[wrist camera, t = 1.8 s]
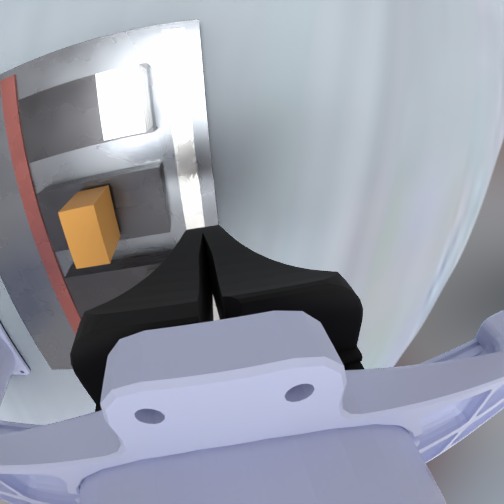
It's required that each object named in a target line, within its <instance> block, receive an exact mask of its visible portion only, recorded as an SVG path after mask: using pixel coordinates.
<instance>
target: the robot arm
mask: <svg viewBox="0 0 504 504" xmlns="http://www.w3.org/2000/svg"><path fill="white" fill-rule="evenodd" d="M213 297H214V300H215V304H216V307H217V311H218V314H219V318H220V320H216V321H214V319H213ZM362 316H363V308H362V304H361V301H360V299H359V297H358V296H357V295H356V293H355V292H354V291H353V289H352V288H351V287H350V285H349V284H348V283H347V282H346V280H345V279H344V278H343V277H342V276H341V275H340V274H339V273H338V272H331V271H319V270H310V269H304V268H299V267H294V266H290V265H286V264H283V263H280V262H277V261H274V260H271V259H268V258H266V257H264V256H262V255H260V254H257V253H255V252H254V251H252V250H250V249H248V248H247V247H245V246H244V245H242V244H241V243H239V242H238V241H237V240H235V239H234V238H233V237H232V236H230V235H229V234H228V233H227V232H226V231H225V230H224V229H223V228H222V227H221V226H219V225H214V226H207V227H201V228H194V229H187V230H186V231H185V232H184V234H183V235H182V237H181V238H180V240H179V241H178V243H177V244H176V246H175V247H174V249H173V250H172V251H171V253H170V254H169V255H168V256H167V258H166V259H165V260H164V261H163V262H162V263H161V264H160V265H159V266H158V267H157V268H156V269H155V270H154V271H153V272H152V273H151V274H150V275H149V276H147V277H146V278H145V279H143V280H142V281H141V282H139V283H138V284H137V285H135V286H134V287H133V288H131V289H130V290H128V291H126V292H125V293H123V294H121V295H119V296H118V297H116V298H114V299H112V300H110V301H108V302H106V303H104V304H101V305H99V306H97V307H94V308H92V309H90V310H87V311H84V314H83V316H82V318H81V321H80V323H79V326H78V329H77V333H76V336H75V339H74V343H73V346H72V349H71V353H70V360H71V366H72V368H73V370H74V372H75V374H76V376H77V377H78V379H79V380H80V382H81V383H82V385H83V386H84V388H85V389H86V391H87V392H88V393H89V395H90V396H91V398H92V399H93V400H94V402H95V403H96V409H95V412H93V413H90V414H86V415H83V416H79V417H76V418H72V419H68V420H64V421H60V422H56V423H52V424H48V425H34V424H24V423H15V422H8V421H1V420H0V499H1V500H3V501H6V502H8V503H11V504H447V503H446V501H445V499H444V497H443V495H442V493H441V492H440V490H439V488H438V486H437V484H436V482H435V480H434V478H433V476H432V474H431V473H430V471H429V469H428V467H427V465H426V463H427V462H428V461H430V460H432V459H433V458H435V457H437V456H438V455H440V454H441V453H443V452H444V451H446V450H447V449H448V448H450V447H452V446H453V445H455V444H456V443H458V442H459V441H460V440H462V439H463V438H465V437H466V436H468V435H469V434H470V433H471V432H473V431H474V430H476V429H477V428H478V427H480V426H481V425H482V424H483V423H485V422H486V421H488V420H489V419H490V418H492V417H493V416H494V415H495V414H497V413H498V412H499V411H501V410H502V409H503V408H504V310H502V311H500V312H498V313H496V314H494V315H492V316H491V317H488V318H487V319H486V320H485V321H484V322H483V323H482V324H481V326H480V327H479V330H478V332H477V334H476V338H475V339H473V340H471V341H469V342H467V343H465V344H463V345H461V346H459V347H457V348H454V349H452V350H450V351H448V352H446V353H443V354H441V355H439V356H437V357H434V358H432V359H430V360H428V361H425V362H423V363H420V364H418V365H411V366H401V367H390V368H377V369H364V368H363V366H362V364H361V362H360V361H362V354H361V352H360V351H359V349H358V347H357V342H358V337H359V332H360V328H361V323H362ZM29 374H30V369H29V368H28V366H27V365H26V364H25V362H24V361H23V359H22V358H21V356H20V355H19V353H18V352H17V350H16V348H15V347H14V345H13V344H12V342H11V340H10V339H9V337H8V336H7V334H6V332H5V331H4V329H3V327H2V325H1V324H0V405H1V402H2V399H3V397H4V394H5V391H6V388H7V385H8V383H9V380H10V377H11V375H29Z"/></svg>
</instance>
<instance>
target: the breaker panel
mask: <svg viewBox="0 0 504 504" xmlns="http://www.w3.org/2000/svg"><path fill="white" fill-rule="evenodd" d="M107 185H109V189H110V194H111V198H112V203H113V207H114V211H115V216H116V220H117V224H118V228H119V231H120V235H121V237H120V239H119V242H118V244H117V247H116V249H115V252H114V255H113V257H112V260H111V263H110V264H104V265H98V266H92V267H86V268H79V269H76V266H75V264H74V261H73V258H72V255H71V252H70V249H69V246H68V243H67V240H66V237H65V234H64V231H63V228H62V224H61V221H60V218H59V214H58V212H59V211H60V210H61V209H62V208H63V207H64V206H65V204H66V203H67V202H68V201H69V200H70V199H71V198H72V197H73V196H74V195H75V194H76V193H77V192H80V191H84V190H88V189H93V188H98V187H102V186H107ZM214 225H219V224H218V215H217V207H216V198H215V189H214V181H213V171H212V162H211V153H210V143H209V133H208V123H207V112H206V101H205V90H204V79H203V67H202V54H201V41H200V27H199V19H197V20H188V21H180V22H173V23H166V24H159V25H154V26H148V27H143V28H138V29H133V30H128V31H124V32H119V33H115V34H111V35H107V36H103V37H99V38H96V39H92V40H89V41H85V42H82V43H79V44H76V45H73V46H69V47H66V48H63V49H61V50H58V51H55V52H52V53H50V54H47V55H44V56H42V57H39V58H37V59H34V60H32V61H29V62H27V63H25V64H22V65H20V66H18V67H15V68H13V69H11V70H9V71H7V72H5V73H3V74H1V75H0V276H1V278H2V280H3V283H4V285H5V287H6V289H7V291H8V293H9V295H10V297H11V299H12V301H13V303H14V305H15V307H16V309H17V311H18V313H19V315H20V317H21V319H22V320H23V322H24V324H25V326H26V328H27V329H28V331H29V333H30V335H31V336H32V338H33V340H34V341H35V343H36V345H37V346H38V348H39V350H40V351H41V353H42V354H43V356H44V358H45V359H46V361H47V362H48V364H49V365H50V367H51V368H52V369H73V368H72V366H71V360H70V353H71V349H72V346H73V343H74V339H75V336H76V333H77V329H78V326H79V323H80V321H81V318H82V316H83V314H84V311H87V310H90V309H92V308H94V307H97V306H99V305H101V304H104V303H106V302H108V301H110V300H112V299H114V298H116V297H118V296H119V295H121V294H123V293H125V292H126V291H128V290H130V289H131V288H133V287H134V286H135V285H137V284H138V283H139V282H141V281H142V280H143V279H145V278H146V277H147V276H149V275H150V274H151V273H152V272H153V271H154V270H155V269H156V268H157V267H158V266H159V265H160V264H161V263H162V262H163V261H164V260H165V259H166V258H167V256H168V255H169V254H170V253H171V251H172V250H173V249H174V247H175V246H176V244H177V243H178V241H179V240H180V238H181V237H182V235H183V234H184V232H185V231H186V230H187V229H194V228H201V227H207V226H214ZM213 319H214V321H216V320H220V318H219V314H218V311H217V307H216V304H215V300H214V297H213Z"/></svg>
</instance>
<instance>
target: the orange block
mask: <svg viewBox="0 0 504 504" xmlns="http://www.w3.org/2000/svg"><path fill="white" fill-rule="evenodd" d="M58 214H59V218H60V221H61V224H62V228H63V231H64V234H65V237H66V240H67V243H68V246H69V249H70V252H71V255H72V258H73V261H74V264H75V266H76V269H79V268H86V267H92V266H98V265H104V264H110V263H111V260H112V257H113V255H114V252H115V249H116V247H117V244H118V242H119V239H120V237H121V235H120V231H119V228H118V224H117V220H116V216H115V211H114V207H113V203H112V198H111V194H110V189H109V185H107V186H102V187H98V188H93V189H88V190H84V191H80V192H77V193H76V194H75V195H74V196H73V197H72V198H71V199H70V200H69V201H68V202H67V203H66V204H65V206H64V207H63V208H62V209H61V210H60V211H59V212H58Z"/></svg>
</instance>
